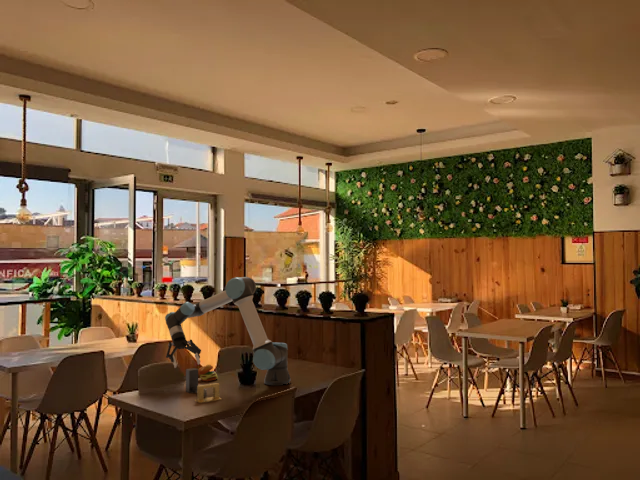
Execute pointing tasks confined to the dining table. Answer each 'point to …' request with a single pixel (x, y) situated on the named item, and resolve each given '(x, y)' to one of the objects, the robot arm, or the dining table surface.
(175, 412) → the dining table surface
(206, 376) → the cheeseburger
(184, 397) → the dining table surface
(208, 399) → the eye bracket
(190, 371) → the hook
